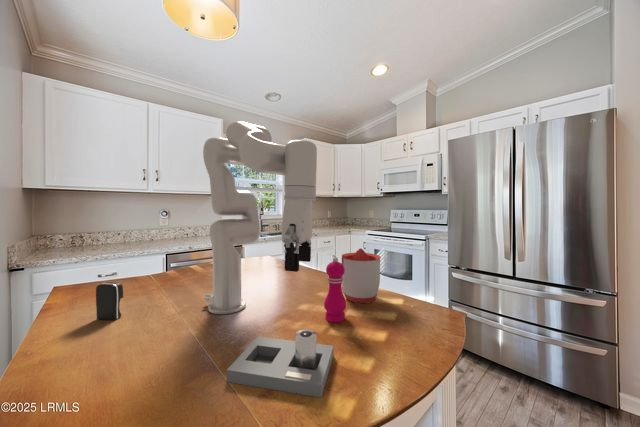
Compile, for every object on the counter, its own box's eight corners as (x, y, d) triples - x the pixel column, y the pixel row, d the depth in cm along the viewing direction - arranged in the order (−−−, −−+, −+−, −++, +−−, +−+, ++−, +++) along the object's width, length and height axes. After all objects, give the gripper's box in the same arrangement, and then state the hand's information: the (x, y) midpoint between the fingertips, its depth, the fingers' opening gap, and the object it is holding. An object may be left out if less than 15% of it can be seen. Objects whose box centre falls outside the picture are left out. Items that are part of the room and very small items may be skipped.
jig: (226, 381, 53) (226, 368, 53) (257, 345, 66) (257, 335, 66) (321, 397, 48) (321, 383, 48) (333, 355, 62) (333, 344, 62)
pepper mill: (344, 324, 79) (345, 259, 79) (322, 322, 80) (322, 258, 80) (347, 314, 86) (347, 255, 86) (326, 312, 88) (326, 254, 87)
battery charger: (125, 315, 85) (125, 281, 84) (115, 320, 81) (114, 284, 80) (106, 314, 85) (105, 280, 85) (95, 319, 81) (94, 284, 81)
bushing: (292, 375, 55) (292, 337, 54) (298, 362, 59) (299, 327, 59) (313, 378, 54) (313, 340, 53) (318, 365, 58) (318, 330, 58)
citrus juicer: (335, 291, 110) (335, 245, 109) (376, 292, 109) (376, 245, 109) (336, 305, 94) (337, 251, 93) (384, 306, 93) (385, 252, 93)
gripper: (296, 195, 70) (295, 257, 71) (270, 192, 53) (268, 274, 54) (323, 195, 68) (321, 259, 69) (304, 193, 52) (302, 277, 52)
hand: (298, 265), depth 62 cm, fingers open, 9 cm apart
